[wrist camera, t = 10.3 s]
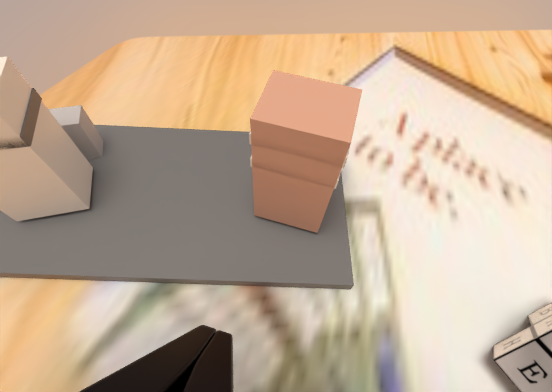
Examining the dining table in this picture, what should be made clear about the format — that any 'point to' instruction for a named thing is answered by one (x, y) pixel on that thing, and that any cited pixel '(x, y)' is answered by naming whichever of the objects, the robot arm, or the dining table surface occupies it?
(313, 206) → the salmon pink block
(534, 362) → the building blocks
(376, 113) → the dining table surface
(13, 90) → the white tall rectangular block
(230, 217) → the grey base plate
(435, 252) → the dining table surface
